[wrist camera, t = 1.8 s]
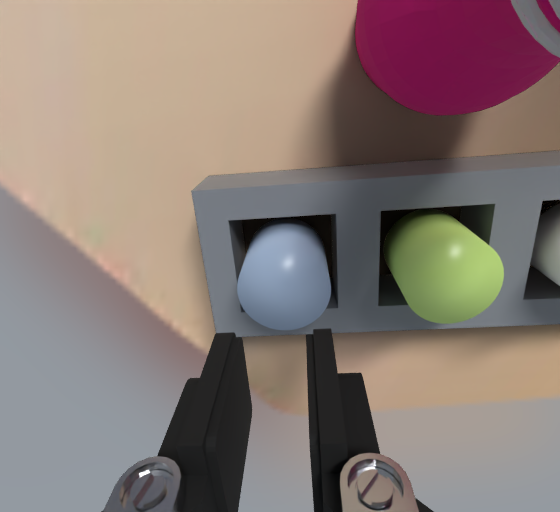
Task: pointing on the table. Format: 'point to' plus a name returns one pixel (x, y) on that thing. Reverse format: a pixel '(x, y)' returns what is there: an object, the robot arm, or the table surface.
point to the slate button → (285, 275)
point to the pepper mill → (456, 50)
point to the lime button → (442, 266)
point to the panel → (366, 234)
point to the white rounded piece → (548, 244)
